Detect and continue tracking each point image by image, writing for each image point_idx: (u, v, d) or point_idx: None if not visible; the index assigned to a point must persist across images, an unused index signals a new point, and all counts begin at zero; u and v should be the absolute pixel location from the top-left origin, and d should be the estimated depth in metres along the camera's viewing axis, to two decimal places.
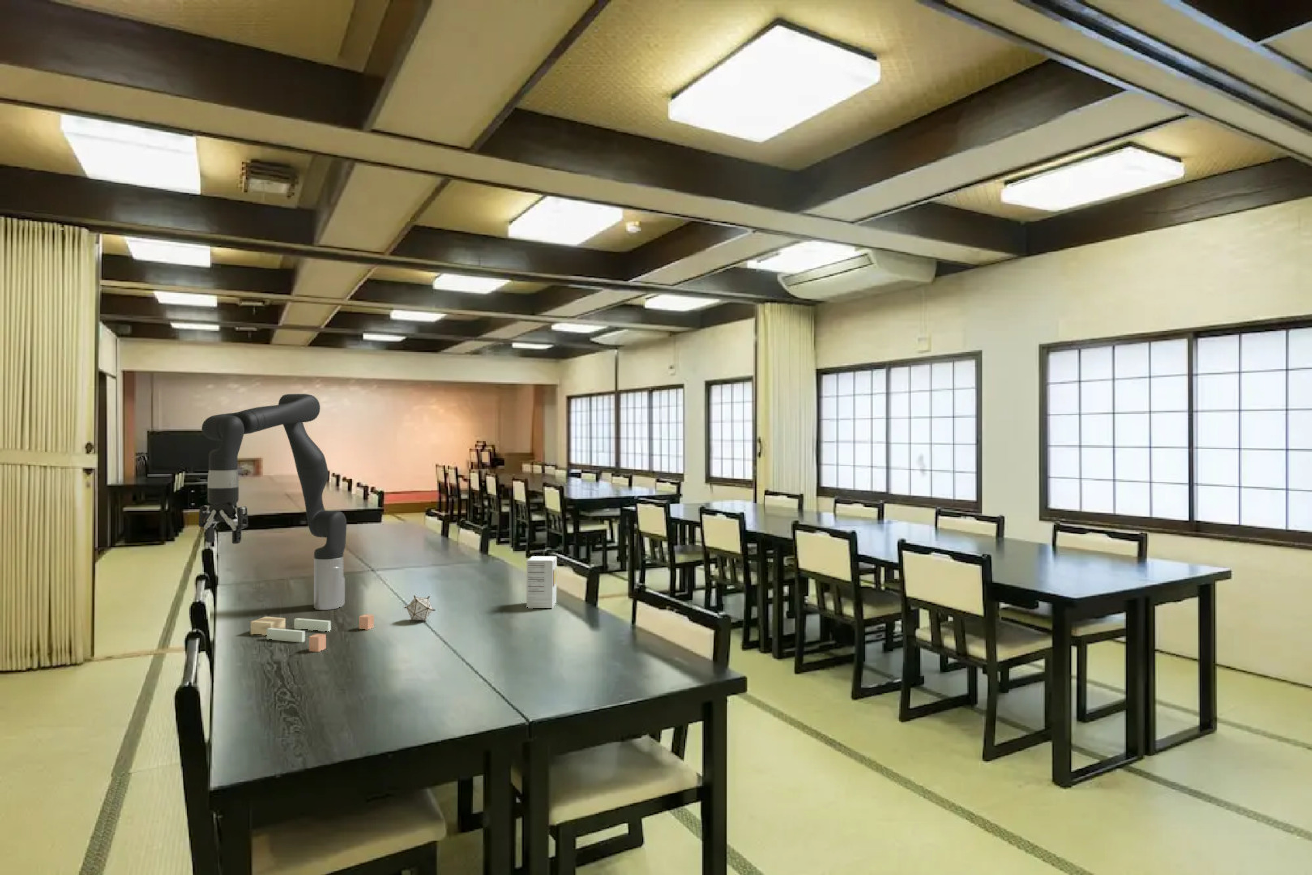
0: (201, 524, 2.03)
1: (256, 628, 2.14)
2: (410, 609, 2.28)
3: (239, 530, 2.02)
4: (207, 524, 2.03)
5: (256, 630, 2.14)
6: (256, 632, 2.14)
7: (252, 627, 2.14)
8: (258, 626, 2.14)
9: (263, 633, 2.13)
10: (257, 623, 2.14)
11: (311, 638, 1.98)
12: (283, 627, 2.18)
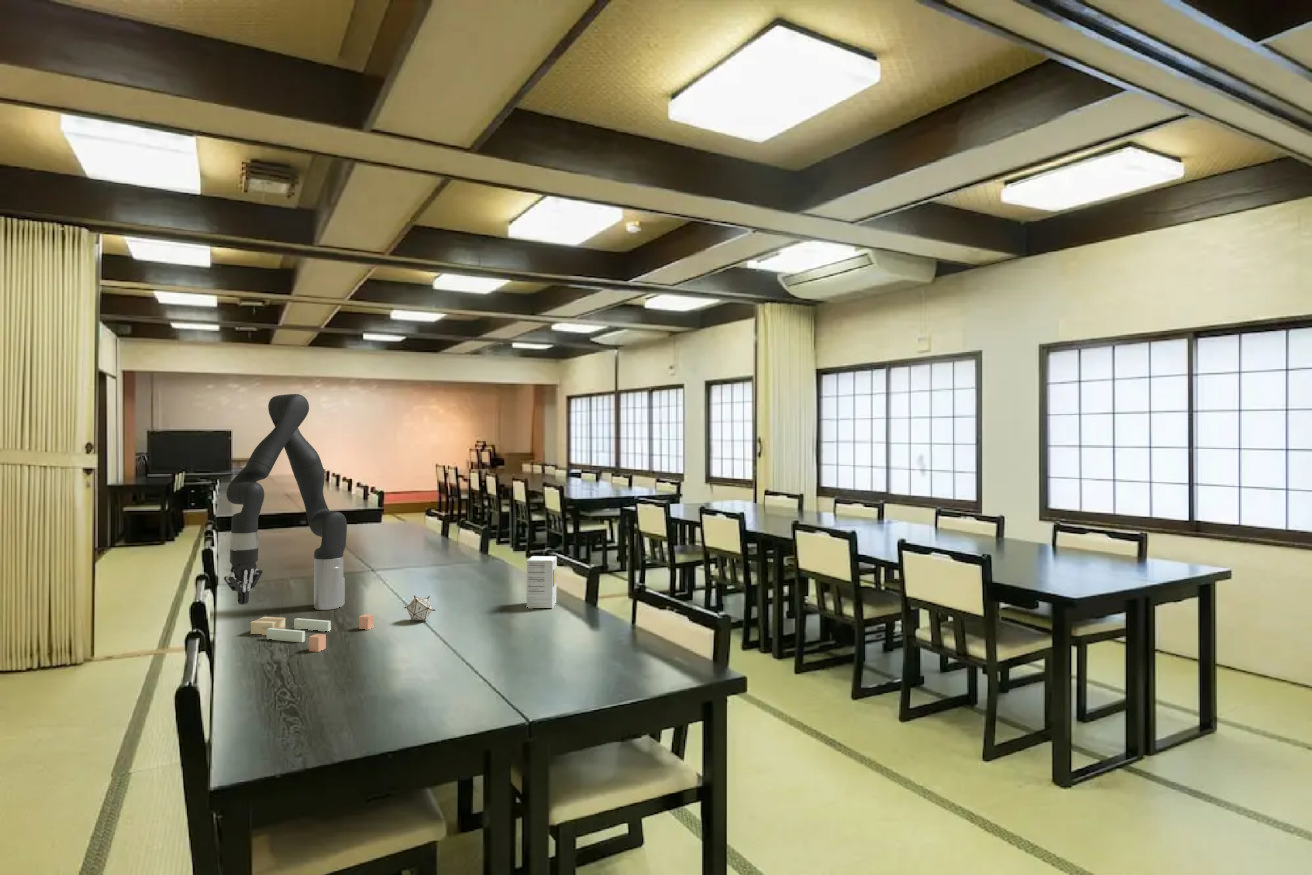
0: (240, 588, 2.16)
1: (257, 628, 2.14)
2: (410, 609, 2.28)
3: None
4: (244, 587, 2.17)
5: (256, 631, 2.14)
6: (257, 632, 2.14)
7: (252, 627, 2.14)
8: (259, 626, 2.13)
9: (264, 633, 2.13)
10: (258, 623, 2.14)
11: (311, 638, 1.98)
12: (283, 627, 2.18)
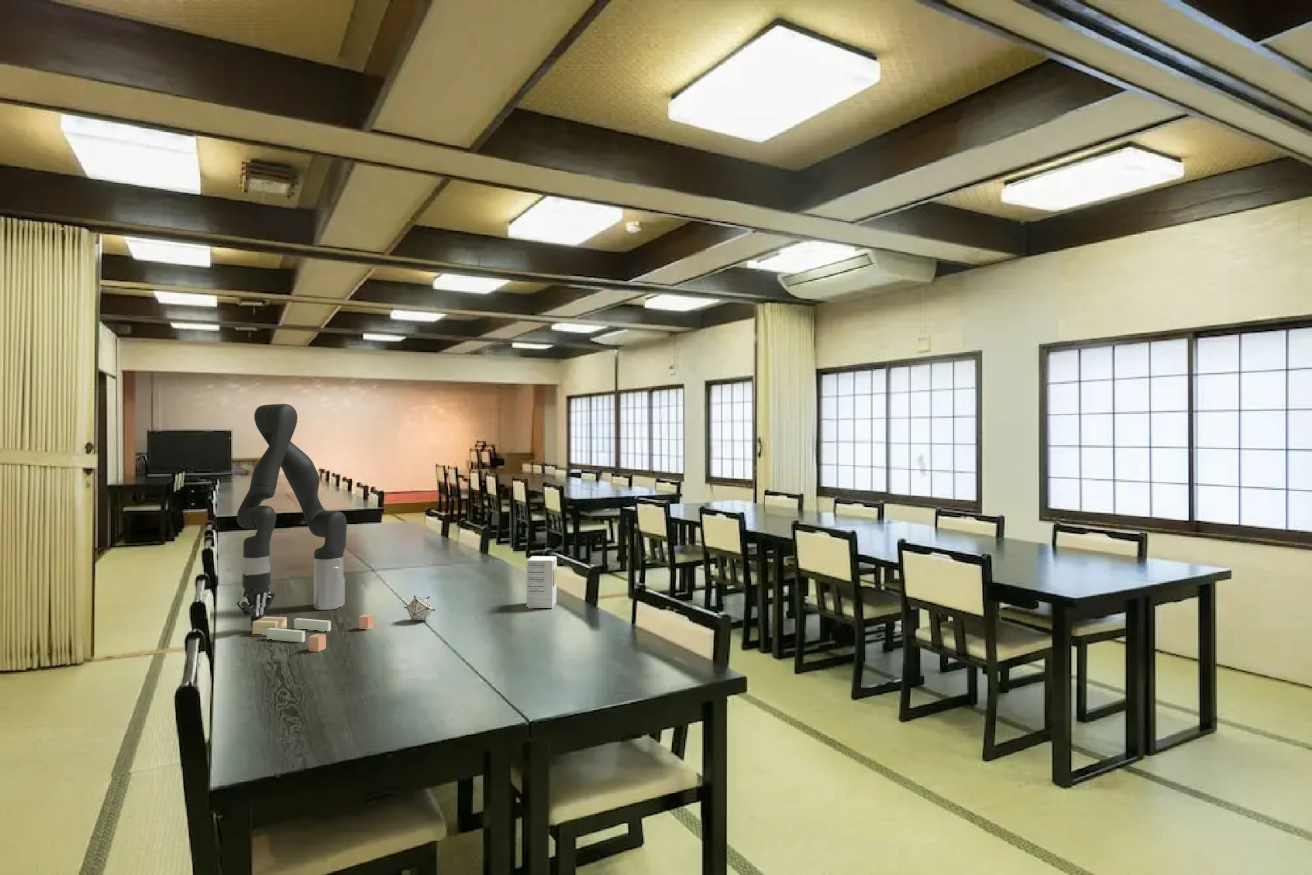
0: (253, 613, 2.15)
1: (259, 628, 2.13)
2: (410, 609, 2.28)
3: None
4: (257, 611, 2.16)
5: (259, 630, 2.13)
6: (259, 632, 2.13)
7: (254, 627, 2.13)
8: (261, 626, 2.13)
9: None
10: (260, 623, 2.13)
11: (311, 638, 1.98)
12: (285, 626, 2.18)
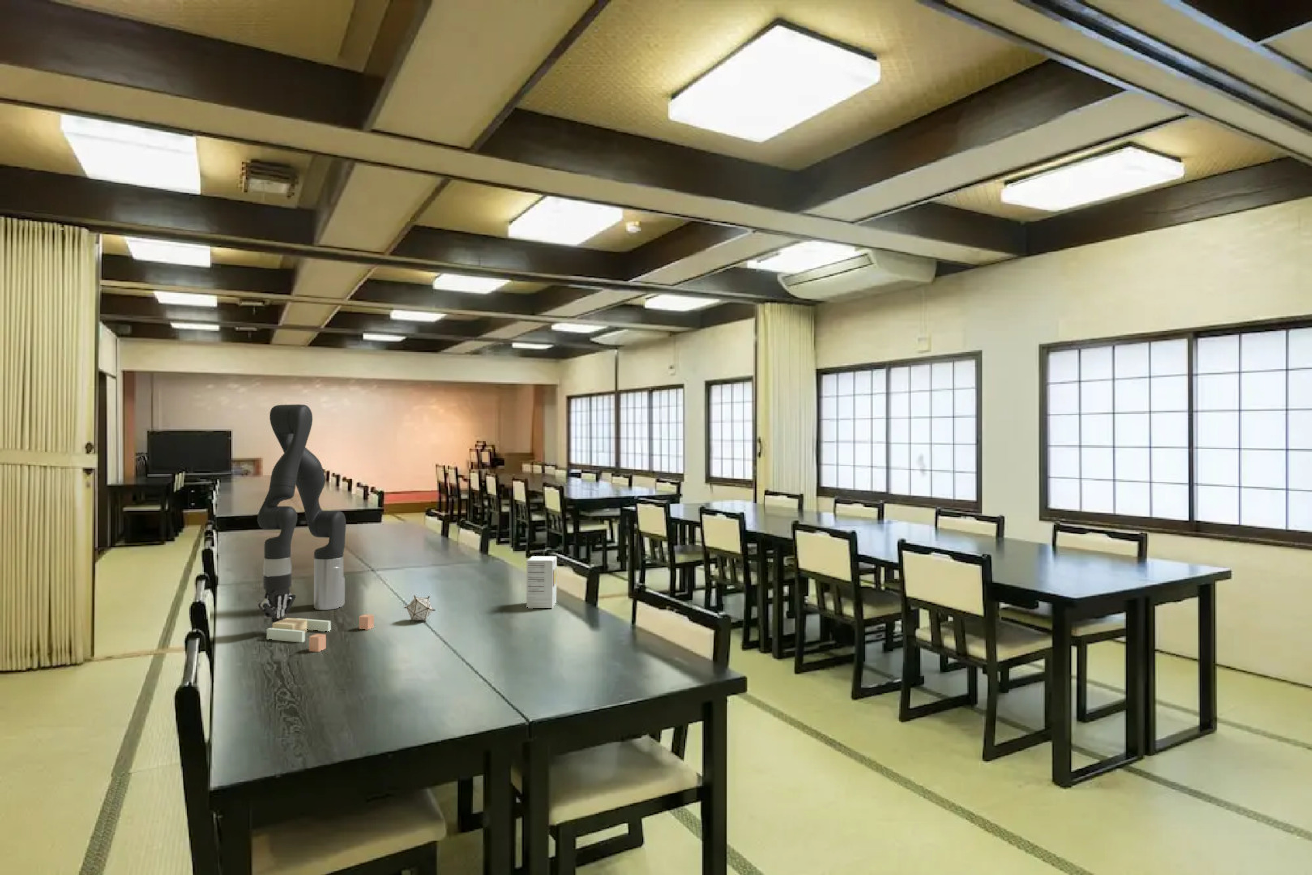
0: (274, 614, 2.13)
1: None
2: (410, 609, 2.28)
3: None
4: (278, 613, 2.14)
5: None
6: None
7: None
8: (280, 628, 2.12)
9: None
10: (279, 624, 2.12)
11: (311, 638, 1.98)
12: (305, 629, 2.16)
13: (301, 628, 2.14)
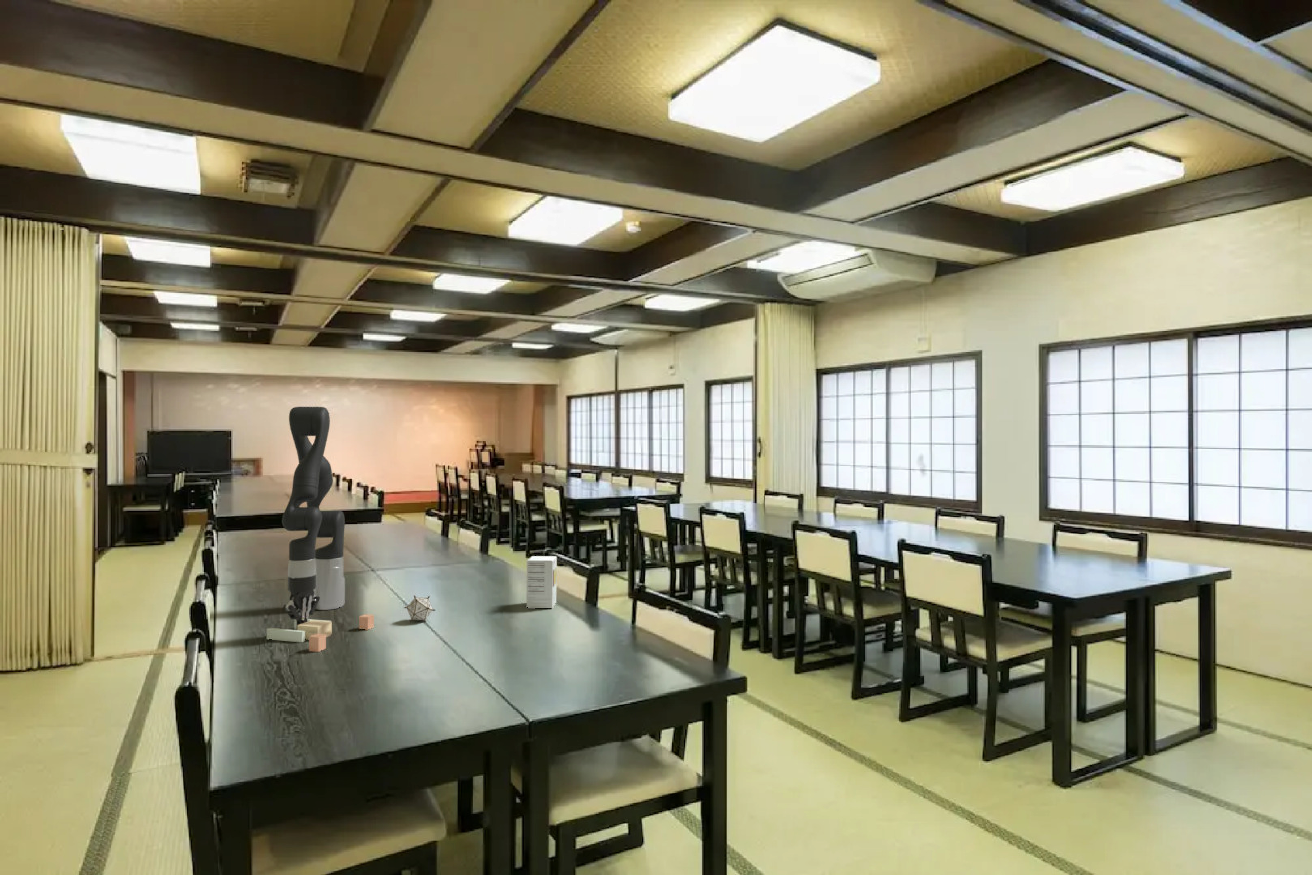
0: (299, 616, 2.11)
1: None
2: (410, 609, 2.28)
3: None
4: (303, 615, 2.12)
5: None
6: None
7: None
8: (305, 630, 2.09)
9: None
10: (304, 627, 2.10)
11: (311, 638, 1.98)
12: (329, 631, 2.14)
13: (326, 630, 2.12)
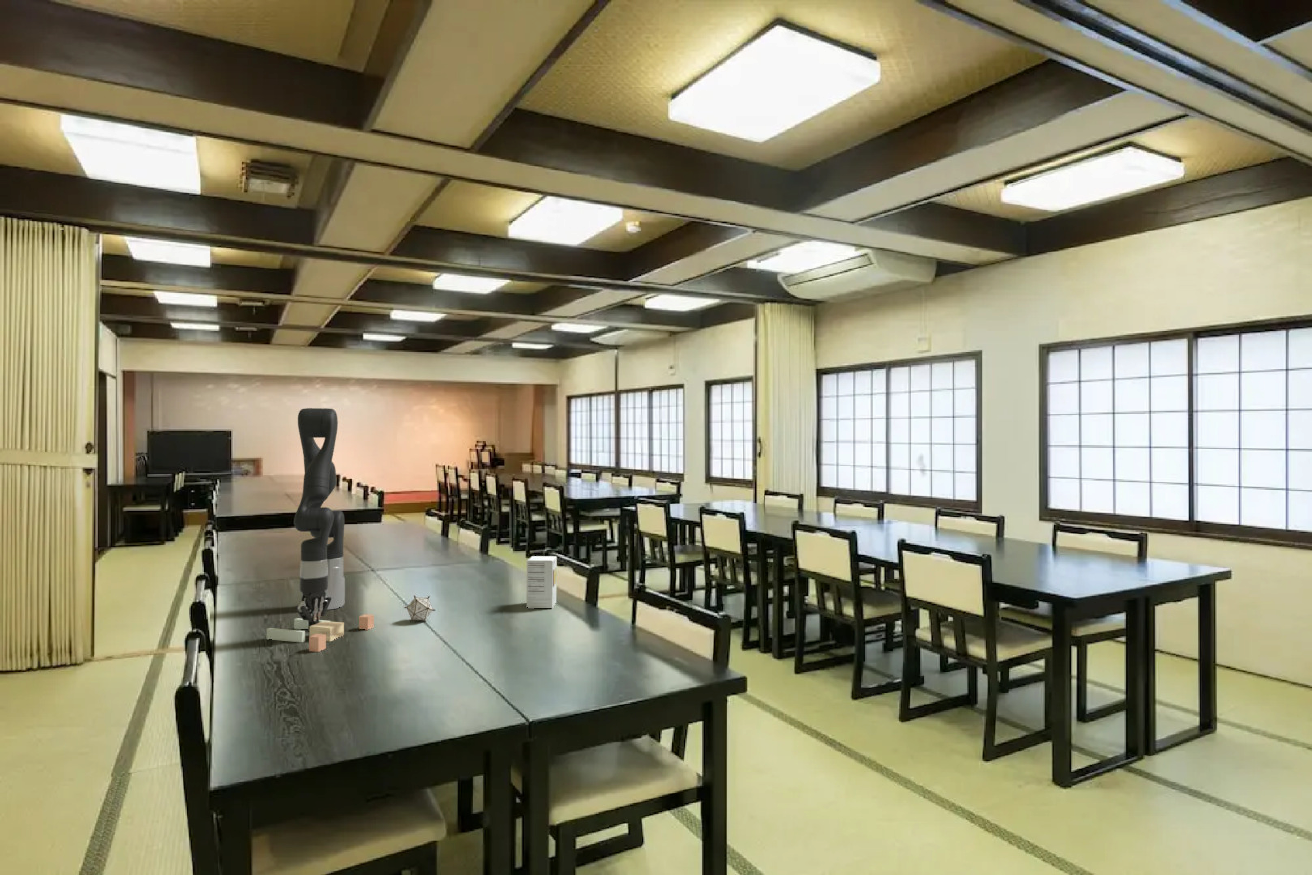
0: (311, 617, 2.10)
1: (315, 632, 2.09)
2: (410, 609, 2.28)
3: None
4: (315, 616, 2.11)
5: None
6: None
7: (311, 632, 2.09)
8: (317, 631, 2.09)
9: None
10: (316, 628, 2.09)
11: (311, 638, 1.98)
12: (342, 632, 2.13)
13: (338, 631, 2.11)
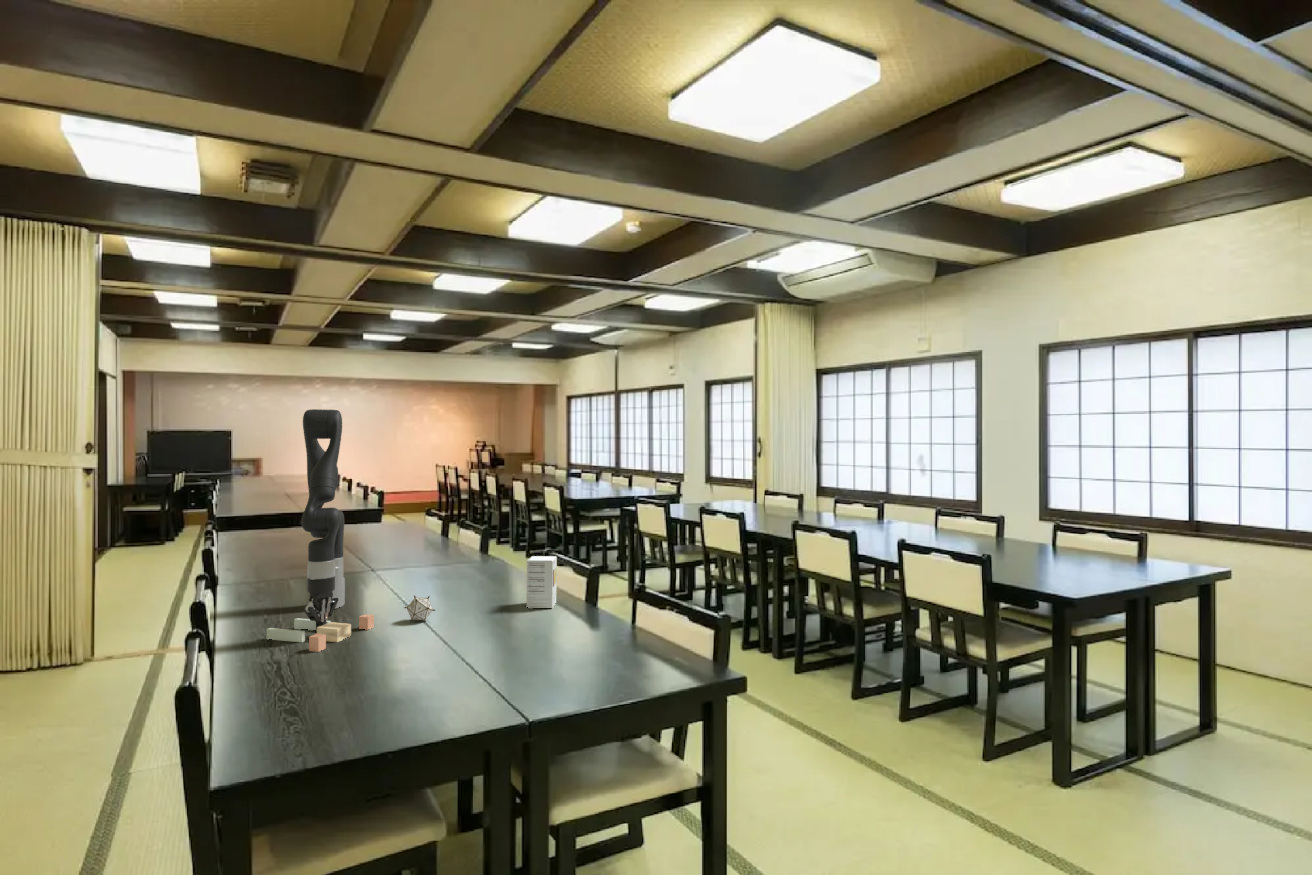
0: (319, 618, 2.10)
1: None
2: (410, 609, 2.28)
3: None
4: (322, 616, 2.11)
5: None
6: None
7: (318, 633, 2.09)
8: (324, 632, 2.08)
9: (329, 639, 2.08)
10: (323, 629, 2.08)
11: (311, 638, 1.98)
12: (349, 633, 2.12)
13: (345, 632, 2.11)
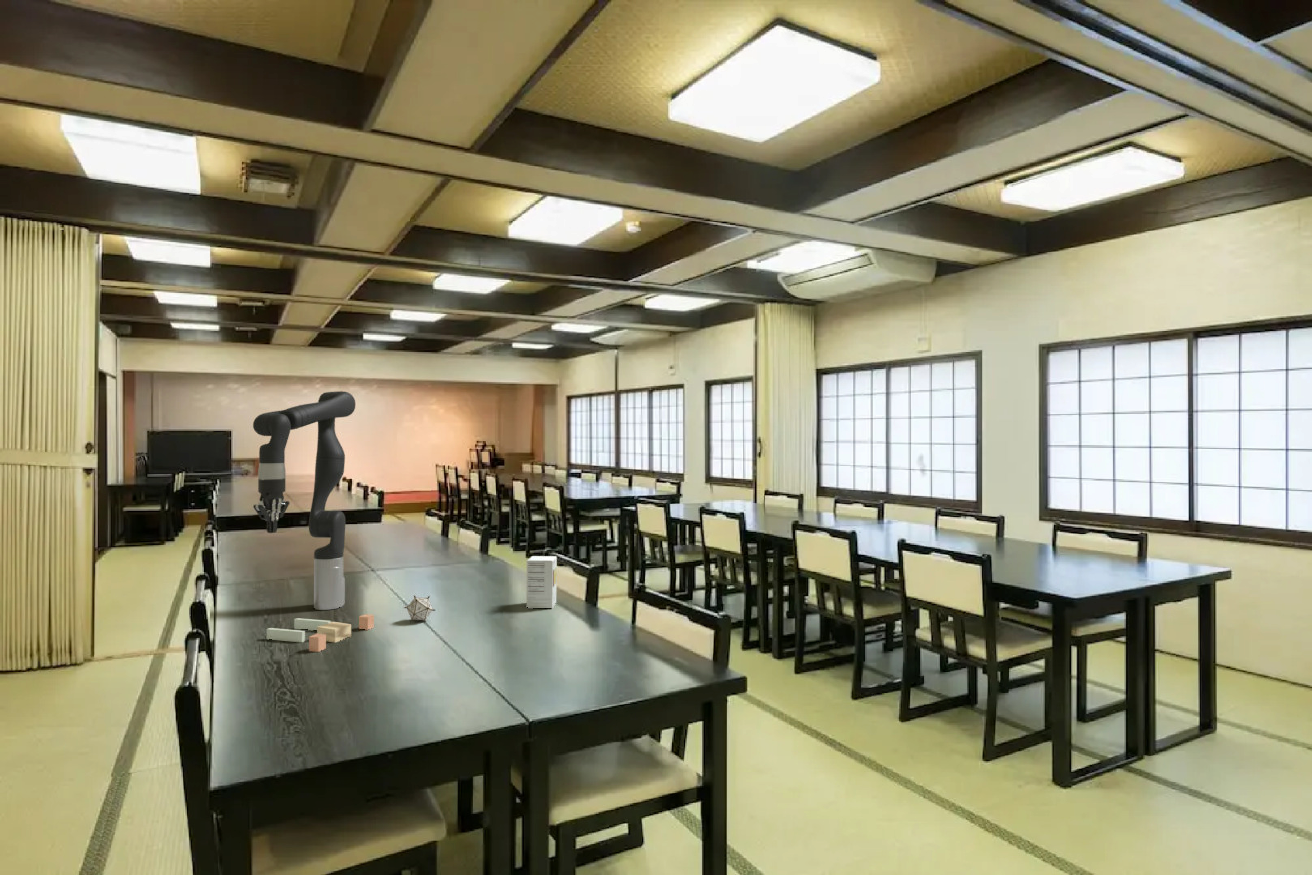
0: (269, 517, 2.21)
1: (322, 633, 2.09)
2: (410, 609, 2.28)
3: None
4: (272, 516, 2.23)
5: None
6: None
7: (318, 632, 2.09)
8: (324, 632, 2.08)
9: (328, 639, 2.08)
10: (323, 629, 2.08)
11: (311, 638, 1.98)
12: (349, 633, 2.12)
13: (345, 633, 2.10)
